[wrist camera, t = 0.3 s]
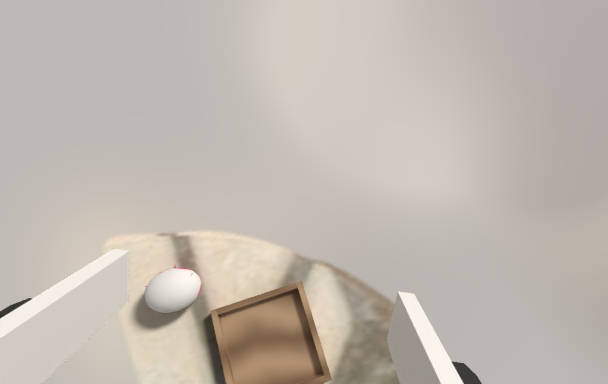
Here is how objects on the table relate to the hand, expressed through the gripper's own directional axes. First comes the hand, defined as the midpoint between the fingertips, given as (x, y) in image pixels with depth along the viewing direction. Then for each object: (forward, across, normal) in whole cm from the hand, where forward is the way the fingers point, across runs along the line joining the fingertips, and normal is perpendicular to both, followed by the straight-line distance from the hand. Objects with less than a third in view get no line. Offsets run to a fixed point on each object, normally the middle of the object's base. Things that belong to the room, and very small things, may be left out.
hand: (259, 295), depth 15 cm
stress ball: (+28, +16, +18) cm, 37 cm away
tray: (+25, +1, +23) cm, 34 cm away
